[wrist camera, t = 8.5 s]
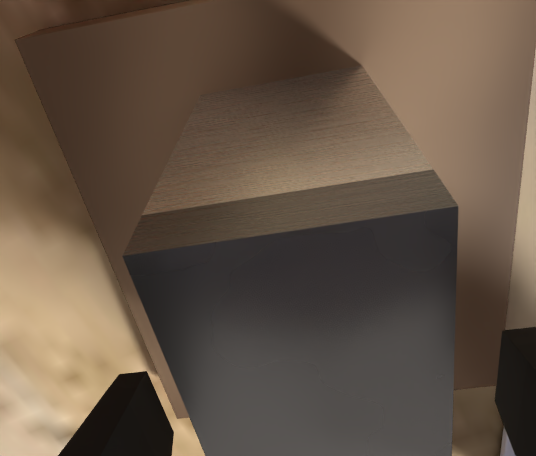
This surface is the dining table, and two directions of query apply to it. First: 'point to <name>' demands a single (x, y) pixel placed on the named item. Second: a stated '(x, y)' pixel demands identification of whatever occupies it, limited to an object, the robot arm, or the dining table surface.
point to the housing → (303, 274)
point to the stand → (291, 66)
